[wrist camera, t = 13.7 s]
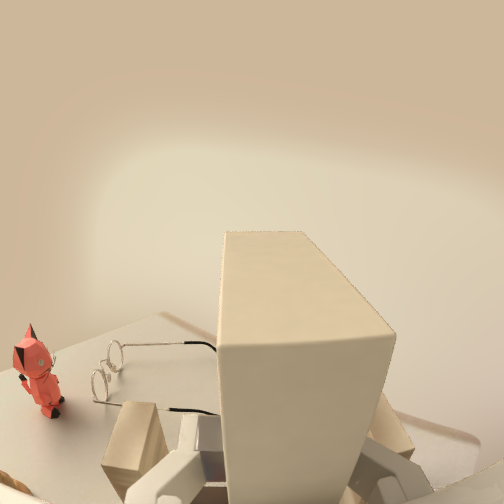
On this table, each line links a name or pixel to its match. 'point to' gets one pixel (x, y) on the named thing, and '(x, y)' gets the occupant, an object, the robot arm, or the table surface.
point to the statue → (13, 483)
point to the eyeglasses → (113, 369)
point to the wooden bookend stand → (210, 498)
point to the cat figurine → (38, 373)
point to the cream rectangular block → (294, 370)
